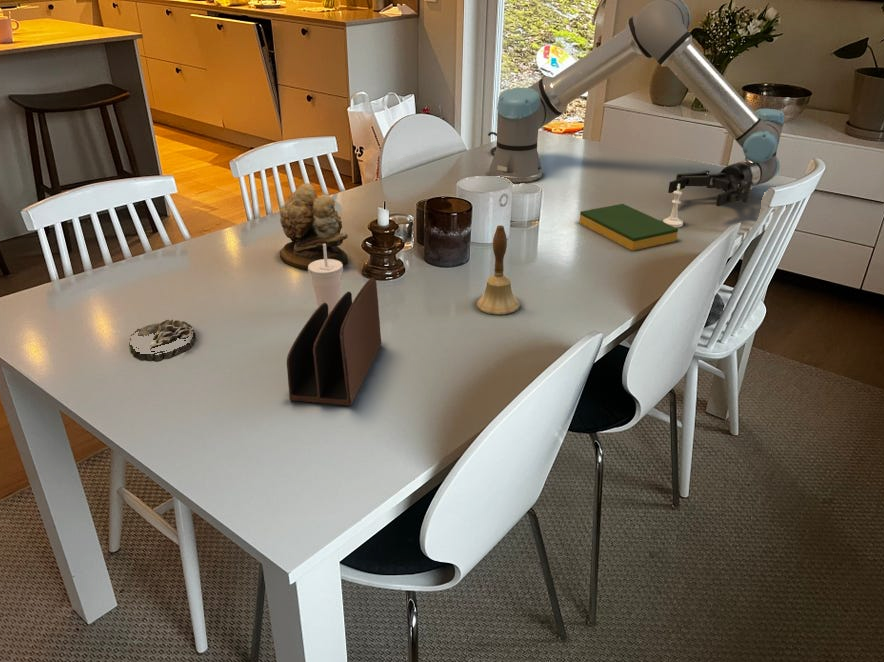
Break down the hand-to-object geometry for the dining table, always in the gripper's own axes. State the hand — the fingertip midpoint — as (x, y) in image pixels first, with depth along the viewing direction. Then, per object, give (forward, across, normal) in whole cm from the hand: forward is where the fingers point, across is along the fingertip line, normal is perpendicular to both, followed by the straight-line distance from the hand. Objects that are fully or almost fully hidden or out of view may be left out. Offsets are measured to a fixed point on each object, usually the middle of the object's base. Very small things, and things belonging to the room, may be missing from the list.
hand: (693, 194), depth 184 cm
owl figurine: (+85, -39, +6) cm, 94 cm away
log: (+126, -25, +6) cm, 128 cm away
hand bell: (+71, +3, +6) cm, 71 cm away
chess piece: (+7, 0, +6) cm, 10 cm away
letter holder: (+108, +3, +6) cm, 108 cm away
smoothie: (+97, -16, +6) cm, 99 cm away
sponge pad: (+20, -4, +6) cm, 21 cm away
